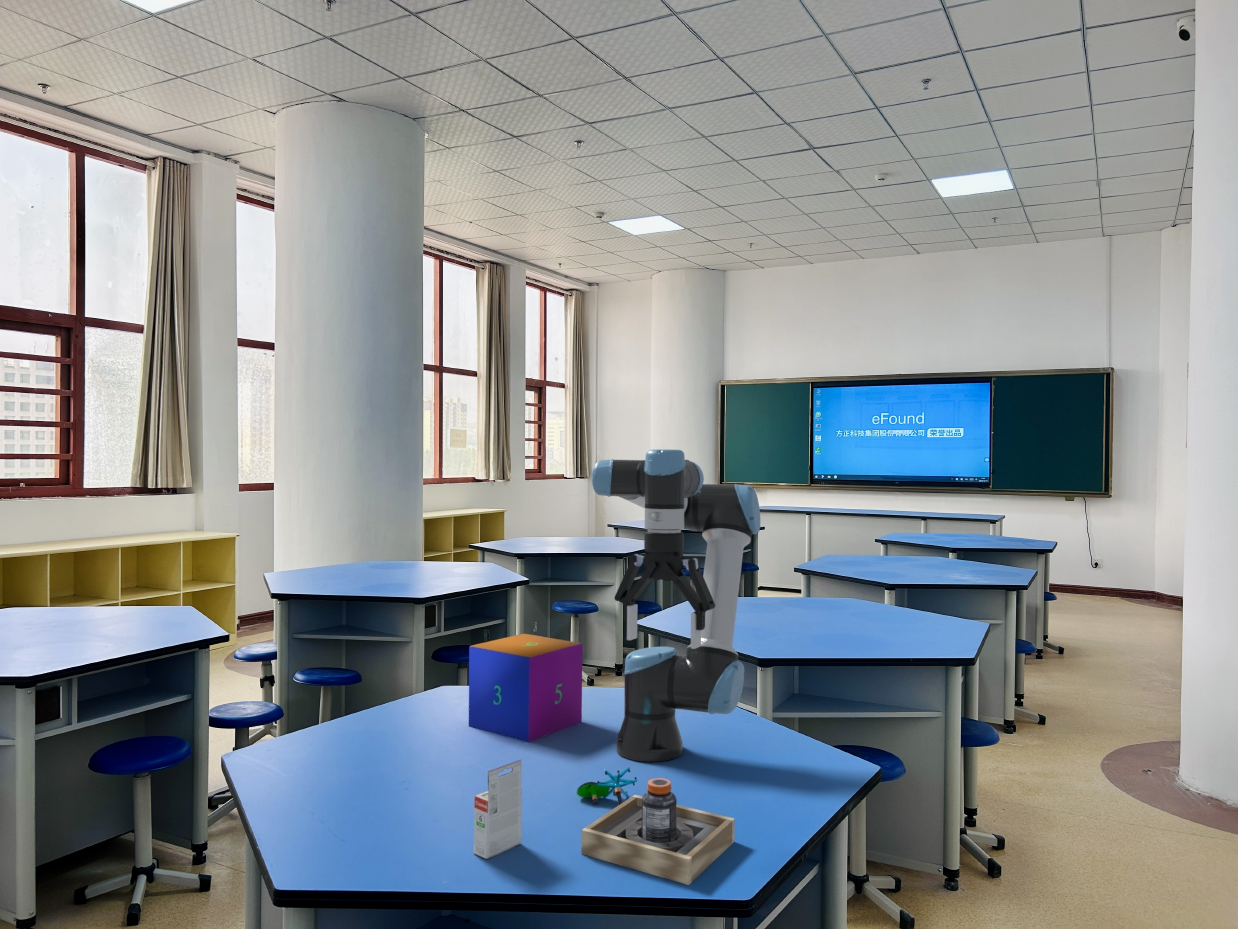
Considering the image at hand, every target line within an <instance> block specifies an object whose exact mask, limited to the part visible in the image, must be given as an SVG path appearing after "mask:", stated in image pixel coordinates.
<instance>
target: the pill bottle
mask: <svg viewBox="0 0 1238 929" xmlns="http://www.w3.org/2000/svg"><path fill="white" fill-rule="evenodd" d="M646 788H647V791H646V792H645V793H643V795H642V839H643V840H646V841H650V842H653V843H668V842H672V841H676V840H677V837H676V831H677V830H676V828H677V827H676V824H677V823H676V817H677V815H676V814H677V813H676V811H677V810H676V809H677V808H676V806H677V805H678V803H677V802H678V800H677V797H676V795H675V794H674V792H672V782H671V781H670V780H669V779H667V778H661V777H657V778H651V779H649V780H648V781H647V787H646Z"/></svg>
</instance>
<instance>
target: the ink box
mask: <svg viewBox="0 0 1238 929" xmlns="http://www.w3.org/2000/svg"><path fill="white" fill-rule="evenodd" d="M522 767H523V766H522V759H519V760H516V761H513V762H510V763H507V764H505V765H502V766H500V767H496V768H494V769H492V770H488V771H487V790H486V791H484V792H481V793H478V794H476V795H474V806H473V807H474V808H473V810H474V811H473V812H474V813H473V818H474V819H473V854H475V855H476V856H478V857H481V858H483V859H485V860H488V859H490V858H493V857H495V856H498V855H500V854H502V853H504V852H506V851H508V850H510V849H513V848H515V847H516V846H518V845H520V844H522V830H523V829H522V816H523V815H522V810H523V809H522V808H523V805H522V804H523V801H522V800H523V798H522V796H523V789H522V782H523V781H522V780H523V779H522V773H523V772H522V770H523V768H522ZM505 769H506V770H510V769H511V771H510V772H507V773H505V774H502V775H499V774H500V773H502V772H504V770H505Z"/></svg>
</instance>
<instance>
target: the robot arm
mask: <svg viewBox="0 0 1238 929" xmlns="http://www.w3.org/2000/svg"><path fill="white" fill-rule="evenodd" d="M704 481H705V476H704V472H703V470H702V468H701V467H700V465H698V464H697V463H696V462H694V461H692V460H690V459H686V458H685V452H684V451H683V450H682V449H649V450H648V451H646V453H645V459H639V460H638V459H614V458H611V459H601V460H598V461H597V462H596V463H595V464H594V465H593V468H592V472H591V484H592V489H593V491H594V493H595V494H596V495H598V496H601V497H602V496H604V497H605V496H607V498H608V497H609V498H611V497H619V498H621V499H624V500H626V501H628V502H630V503H631V504H634V505H637V506H638V507H640V508H643V509H644V529H645V530H647V531H645V532H644V534H643V535H644V537H643V538H644V540H643V542H644V543H643V544H644V545H643V546H644V548H643V549H644V555H641V554H640V553H635V554H630V556H629V558H628V559H629V560H628V565H627V569H626V571H625V573H624V575H623V577H622V580H621V582H620V584H619V586H618V588H617V591H616V593H615V595H614V600H615V602H619V603H621V604H622V605H623V621H624V622H626V641H632V640H635V639H637V638H638V604H636V600H637V599H638V598H639V596H640V595H641V594H642V593H643V592H644V590H645V589H646V588H647V587H648V585H649V584H650V583H651V582H652V581H660V580H662V581H664V582H670V581H672V582H673V583H674V584H675V585H676V586H677V587H678V589H679V590H680V592H681V593H682V594H683V596H684V597H685V599H686V601H688V603H689V605H690V606H691V607H692V609H693V610H694V611H693V612H691V613H690V643H689V645H688V646H687V647H686V654H685V656H684V655H677V653H678V652H677V650H676V648H675V647H671V646H650V647H644V648H640V649H635V650H633V651H631V652H629V653H628V654H627V656H626V658H625V661H624V663H625V664H624V671H623V675H624V690H623V691H624V699H623V700H624V702H623V703H624V714H623V720H622V722H621V726H620V729H619V732H618V734H617V738H616V745H615V746H616V753H617V754H618V755H620V756H621V757H623V758H625V759H628V760H633V761H638V762H647V763H649V762H657V763H658V762H664V761H671V760H674V759H676V758H679V757H680V756H681V755H682V754H683V751H684V750H683V746H684V744H683V738H682V735H681V733H680V728H679V725H678V722H677V719H676V710H684V711H691V712H700V713H707V714H710V715H715V714H716V715H717V714H718V715H728V714H731V713H732V712H734V710H735V709H736V708H737V706H738V704H739V701H740V699H741V697H742V692H743V690H744V689H743V687H744V683H745V666H744V664H743V662H741V661H740V660H739V654H738V652H737V651H736V650H735V648H734V646H733V643H734V635H735V628H736V627H735V626H736V619H737V618H736V617H737V608H738V600H739V599H738V598H739V592H740V584H741V583H740V582H741V574H742V566H743V565H742V564H743V556H744V548H745V547H747V546H748V545H749V544H750V543H751V540H752V535H756V534H758V533H759V532H760V529H761V510H760V504H759V498H758V495H757V492H756V490H755V489H754V487H752V486H751V485H747V484H746V485H745V484H737V483H734V484H727V483H726V484H722V483H721V484H720V483H719V484H717V483H715V484H714V483H713V484H711V483H710V484H709V483H707V484H706V483H705V484H704ZM682 530H687V531H691V532H702V535H701V536H702V538H703V539H704V541H705V542H706V543H707V546H706V552H705V561H704V568H703V573H702V571H701V565H700V562H701V561H700V558H699V557H694V558H689V559H685V557H684V552H685V534H684V532H683V531H682ZM642 565H644V567H645V568H646V569H645V571H644V572H643V573H642V574H641V576H640V578H639V579H638V581H637V582H636V583H635V585H634V586H633V587H632V585H633V583H634V581H635V579H636V576H637V574H638V572H639V571H640V568H641V567H642ZM684 567H685V569H686V570H687V571H688V573H689V576H690V578H691V581H692V584H693V586H694V587H693V586H692V585H691V583H690V581H688V578H687V575H686V574H685V573H684V572H683V569H684ZM631 587H632V588H631ZM694 588H695V589H694Z"/></svg>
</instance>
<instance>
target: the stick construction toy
mask: <svg viewBox="0 0 1238 929" xmlns="http://www.w3.org/2000/svg"><path fill="white" fill-rule="evenodd" d="M627 772H628V773H631V769H630V767H627V768H626V769H624V770H623V771H622V772H621V773H620V770H617V771H616V773H617V775H616V774H615V775H614V774H612V773H611V772H609V771H608V770H607V769H604V775H605V776H606V775H607V776H608V777H609V778H610V779H608V780H606V781H603V782H600V781H599V780H597V782H594V781H588V782H585V783H583V784H581V785H579V787H577V789H576V795H577V796H578V797H581V798H585V799H586V798H592V801H593V804H594V805H598V799H599V798H602V799H603V800H604V799H607V798H608V797H609V796H610V795H611V794H612V796H616V797H617V802H618V806H619V805H620V804H622V803H623V799H622V794H623V795H624V796H626V797H628V796H629V795H628V791H626V790H624V789H623V788H622V787H627V786H629V785H632V786H635V785H636V783H637V782H638V779H637V777H636V776H635V777H634V779H626V778H625V779H624V778H622V777H623V776H624V775H625V774H627Z"/></svg>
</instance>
